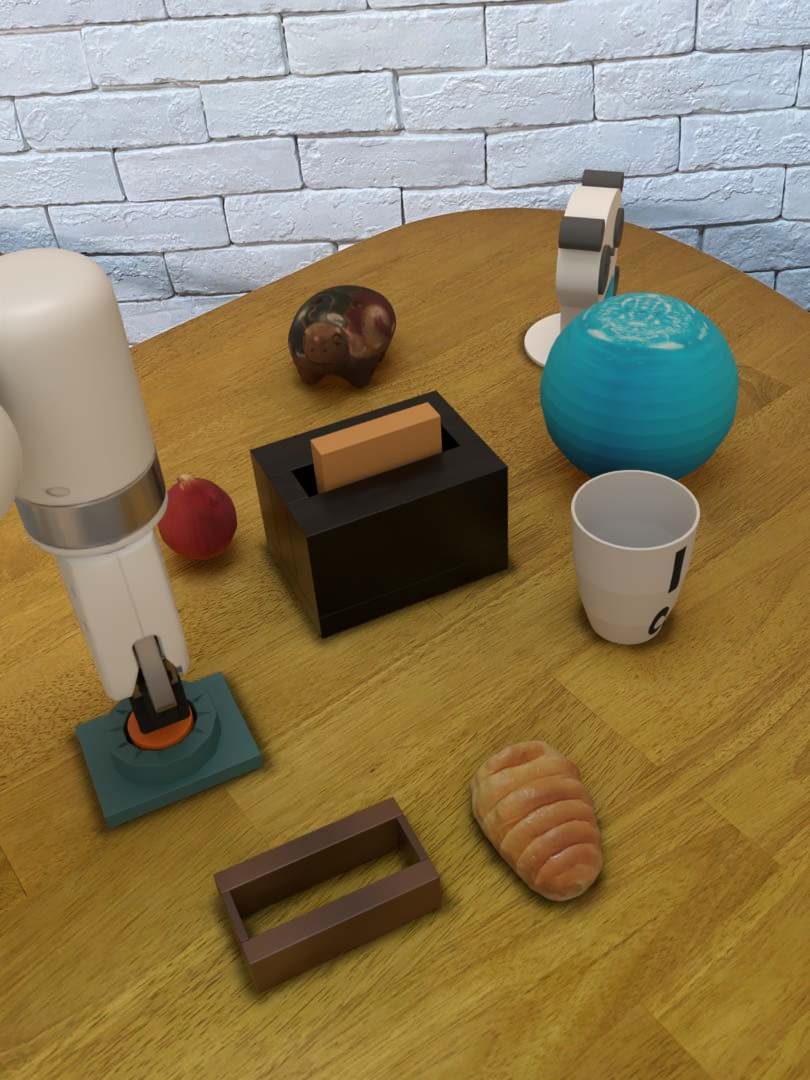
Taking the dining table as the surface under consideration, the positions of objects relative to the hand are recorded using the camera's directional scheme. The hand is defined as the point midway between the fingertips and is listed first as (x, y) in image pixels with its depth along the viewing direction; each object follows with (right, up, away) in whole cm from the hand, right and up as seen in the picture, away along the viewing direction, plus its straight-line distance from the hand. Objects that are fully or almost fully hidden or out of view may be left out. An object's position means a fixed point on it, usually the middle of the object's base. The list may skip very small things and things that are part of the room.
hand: (163, 717), depth 71 cm
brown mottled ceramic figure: (+10, +27, +35) cm, 45 cm away
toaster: (+14, +10, +15) cm, 22 cm away
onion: (0, +10, +16) cm, 19 cm away
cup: (+31, +5, +9) cm, 32 cm away
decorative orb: (+34, +17, +21) cm, 43 cm away
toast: (+14, +11, +14) cm, 22 cm away
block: (0, -3, +2) cm, 3 cm away
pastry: (+23, -6, -4) cm, 24 cm away
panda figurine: (+32, +29, +36) cm, 56 cm away
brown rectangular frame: (+11, -10, -7) cm, 16 cm away
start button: (0, -1, +1) cm, 2 cm away
